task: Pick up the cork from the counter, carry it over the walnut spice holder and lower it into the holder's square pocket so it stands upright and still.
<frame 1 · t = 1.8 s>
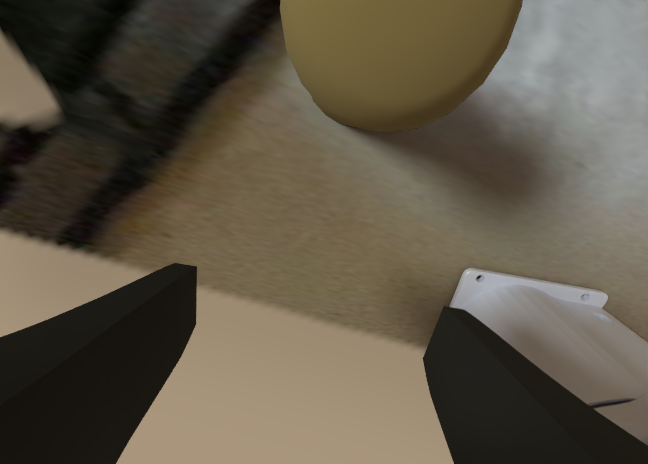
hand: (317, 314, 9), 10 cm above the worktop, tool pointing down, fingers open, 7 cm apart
cork: (361, 65, 16), on the worktop
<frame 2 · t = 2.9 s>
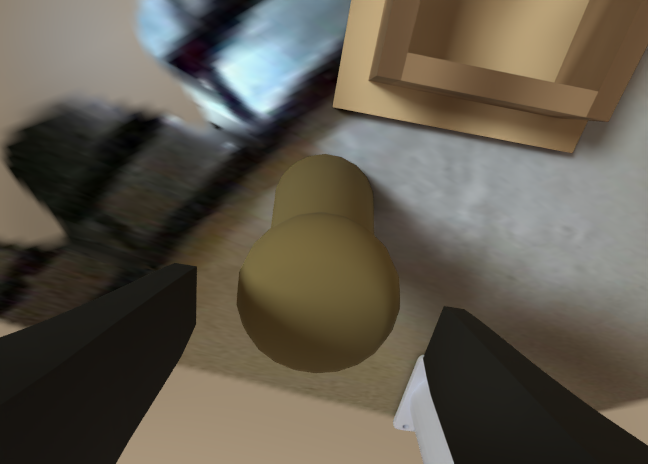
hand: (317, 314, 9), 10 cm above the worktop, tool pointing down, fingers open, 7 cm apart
cork: (324, 203, 19), on the worktop
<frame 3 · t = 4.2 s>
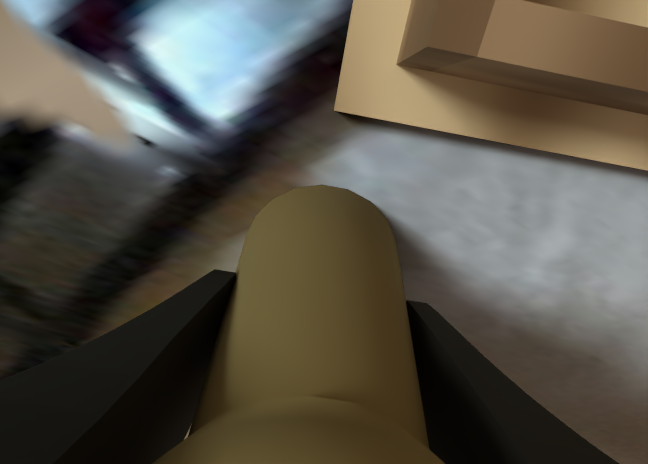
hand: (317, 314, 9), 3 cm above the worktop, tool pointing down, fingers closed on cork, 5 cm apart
cork: (320, 257, 12), on the worktop, touching gripper
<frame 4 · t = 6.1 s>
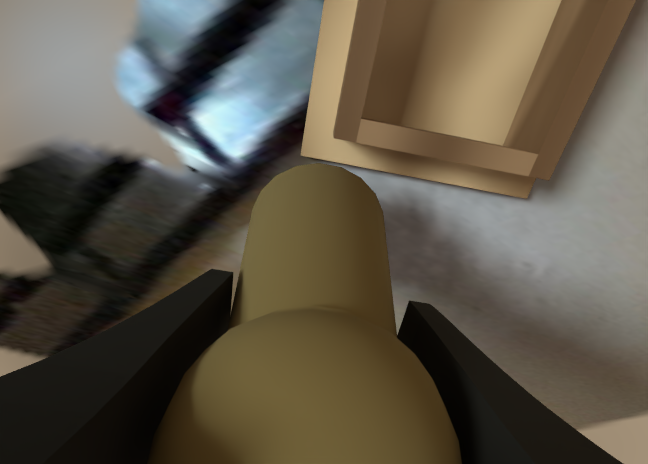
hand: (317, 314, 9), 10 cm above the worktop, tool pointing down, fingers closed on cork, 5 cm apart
cork: (317, 227, 14), point 5 cm above the worktop, touching gripper
spice holder: (450, 46, 15), on the worktop
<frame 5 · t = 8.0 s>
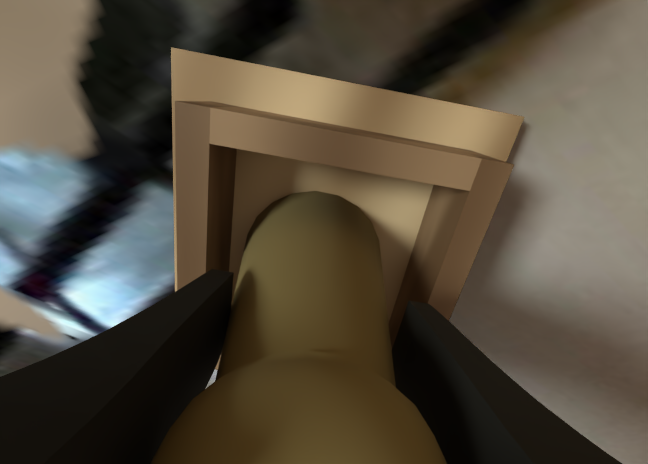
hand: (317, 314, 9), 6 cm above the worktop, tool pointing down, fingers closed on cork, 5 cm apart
cork: (312, 254, 14), point 1 cm above the worktop, touching gripper, spice holder
spice holder: (322, 236, 14), on the worktop
when the fingers open (6 cm above the worktop, at t = 8.5 s): cork stays where it is, resting on spice holder.
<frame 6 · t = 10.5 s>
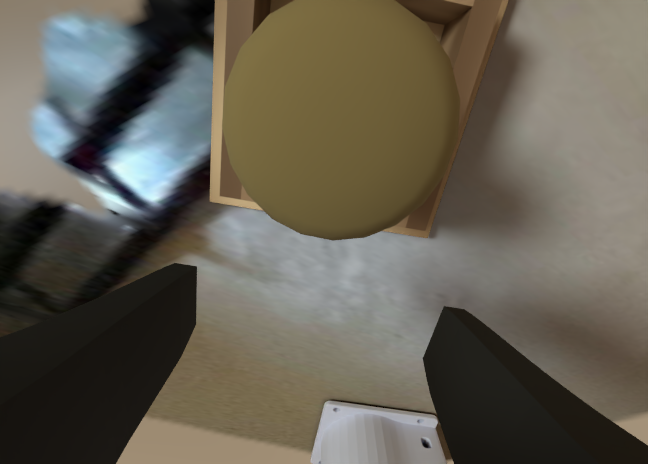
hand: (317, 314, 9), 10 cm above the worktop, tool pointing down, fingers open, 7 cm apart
cork: (333, 114, 16), point 1 cm above the worktop, touching spice holder
spice holder: (341, 101, 16), on the worktop
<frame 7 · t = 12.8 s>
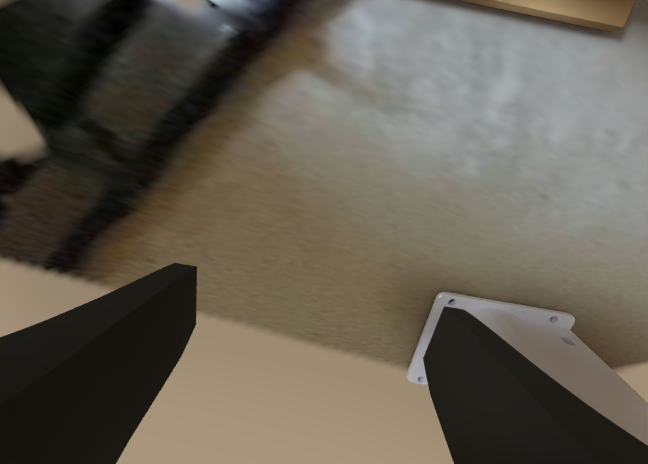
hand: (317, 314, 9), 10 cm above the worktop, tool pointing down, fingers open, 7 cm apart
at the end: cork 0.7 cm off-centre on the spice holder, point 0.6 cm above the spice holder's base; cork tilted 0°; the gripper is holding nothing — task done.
